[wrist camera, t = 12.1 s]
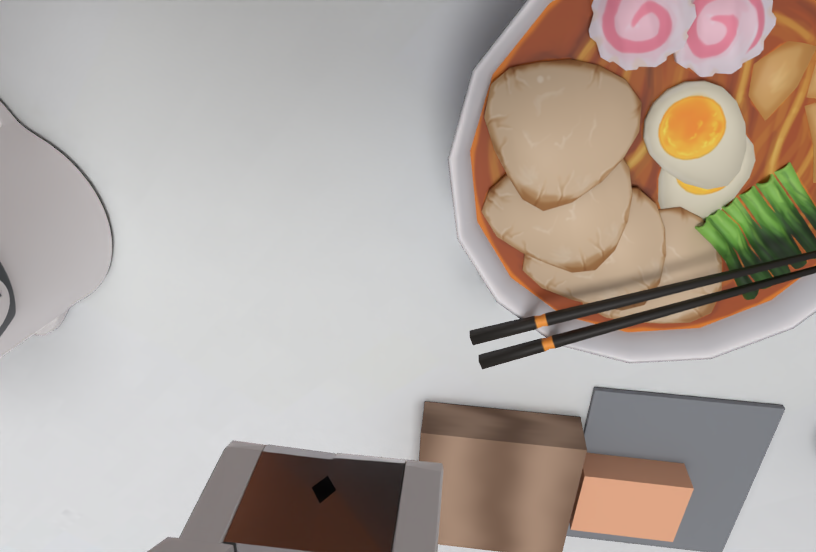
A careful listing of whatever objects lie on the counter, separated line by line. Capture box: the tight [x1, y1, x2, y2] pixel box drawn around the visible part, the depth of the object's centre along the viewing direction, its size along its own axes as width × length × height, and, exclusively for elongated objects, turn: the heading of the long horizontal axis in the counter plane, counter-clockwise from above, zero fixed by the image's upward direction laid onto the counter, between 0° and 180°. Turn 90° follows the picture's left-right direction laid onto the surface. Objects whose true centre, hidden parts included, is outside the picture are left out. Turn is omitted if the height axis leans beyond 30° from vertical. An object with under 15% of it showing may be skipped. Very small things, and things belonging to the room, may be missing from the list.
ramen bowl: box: [448, 0, 816, 369], centre depth 33 cm, size 25×23×8 cm
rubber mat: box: [566, 387, 785, 552], centre depth 49 cm, size 14×16×1 cm
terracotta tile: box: [570, 453, 694, 542], centre depth 48 cm, size 8×6×2 cm
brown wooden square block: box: [419, 402, 587, 552], centre depth 49 cm, size 12×12×4 cm
